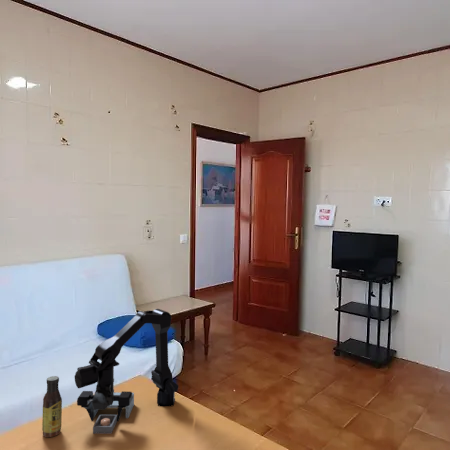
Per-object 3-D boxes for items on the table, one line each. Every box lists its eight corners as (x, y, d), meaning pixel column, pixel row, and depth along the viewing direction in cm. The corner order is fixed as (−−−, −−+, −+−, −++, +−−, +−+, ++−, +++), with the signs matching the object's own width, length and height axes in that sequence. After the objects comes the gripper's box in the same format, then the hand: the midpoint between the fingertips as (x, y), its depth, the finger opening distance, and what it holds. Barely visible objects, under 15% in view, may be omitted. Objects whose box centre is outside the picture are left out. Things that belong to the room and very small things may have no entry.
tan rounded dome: (111, 424, 143) (111, 418, 143) (108, 429, 140) (108, 423, 139) (102, 424, 143) (102, 418, 142) (99, 429, 139) (99, 423, 139)
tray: (117, 422, 145) (117, 414, 145) (111, 435, 137) (111, 426, 137) (99, 422, 145) (99, 414, 145) (92, 434, 137) (93, 426, 137)
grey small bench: (133, 405, 157) (134, 392, 157) (128, 419, 147) (128, 405, 147) (99, 405, 157) (99, 392, 157) (91, 419, 147) (91, 405, 147)
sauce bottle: (54, 439, 134) (54, 383, 133) (38, 437, 135) (38, 381, 134) (65, 428, 140) (65, 375, 139) (50, 426, 142) (50, 373, 140)
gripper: (71, 389, 132) (71, 433, 133) (126, 390, 132) (125, 434, 133) (82, 375, 143) (82, 416, 144) (133, 375, 143) (132, 416, 144)
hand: (105, 421), depth 141 cm, fingers open, 9 cm apart
